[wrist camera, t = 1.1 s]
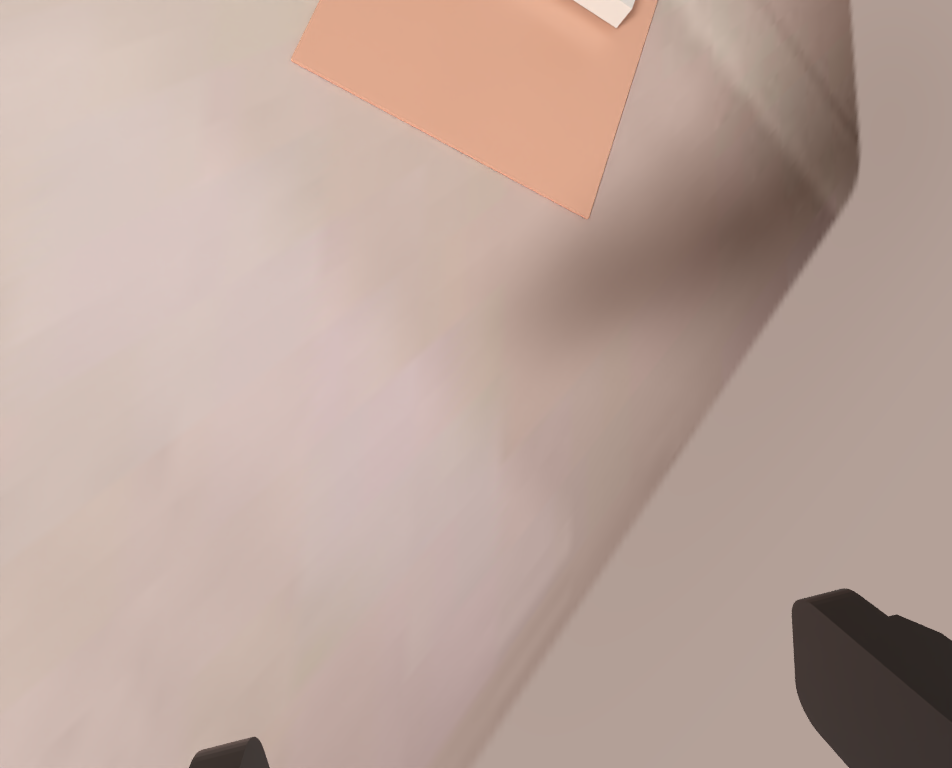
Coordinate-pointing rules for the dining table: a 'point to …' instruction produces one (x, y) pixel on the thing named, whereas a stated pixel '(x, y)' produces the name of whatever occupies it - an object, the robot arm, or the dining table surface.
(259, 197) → the dining table surface
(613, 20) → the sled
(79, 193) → the dining table surface
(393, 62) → the pad
